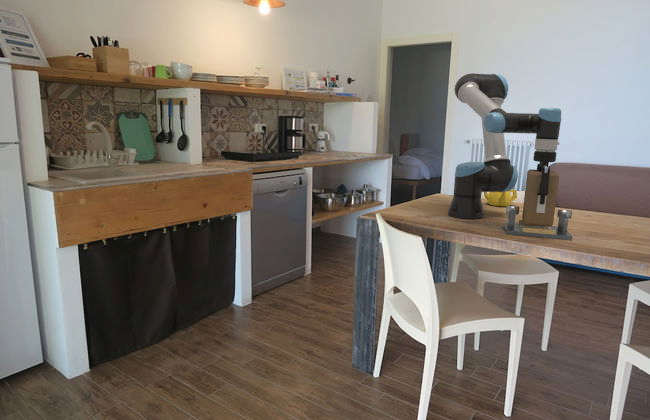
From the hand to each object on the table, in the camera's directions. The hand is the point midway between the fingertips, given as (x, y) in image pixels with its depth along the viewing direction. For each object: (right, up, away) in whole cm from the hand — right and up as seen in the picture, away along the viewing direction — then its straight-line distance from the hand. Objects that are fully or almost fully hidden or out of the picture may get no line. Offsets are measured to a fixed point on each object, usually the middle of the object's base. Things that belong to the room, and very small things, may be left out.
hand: (538, 209), depth 173 cm
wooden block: (0, -5, +1) cm, 5 cm away
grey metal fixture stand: (0, -9, +2) cm, 9 cm away
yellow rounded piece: (+6, +2, +56) cm, 56 cm away
